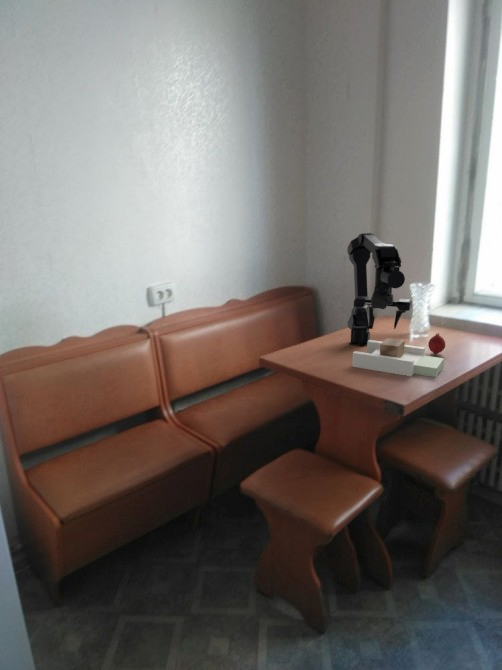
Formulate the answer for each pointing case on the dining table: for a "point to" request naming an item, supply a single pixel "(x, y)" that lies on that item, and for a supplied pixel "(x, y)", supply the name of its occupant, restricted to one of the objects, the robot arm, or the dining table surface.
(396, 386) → the dining table surface
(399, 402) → the dining table surface
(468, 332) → the dining table surface
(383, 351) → the block
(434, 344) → the onion
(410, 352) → the track
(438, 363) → the pad
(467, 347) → the dining table surface
